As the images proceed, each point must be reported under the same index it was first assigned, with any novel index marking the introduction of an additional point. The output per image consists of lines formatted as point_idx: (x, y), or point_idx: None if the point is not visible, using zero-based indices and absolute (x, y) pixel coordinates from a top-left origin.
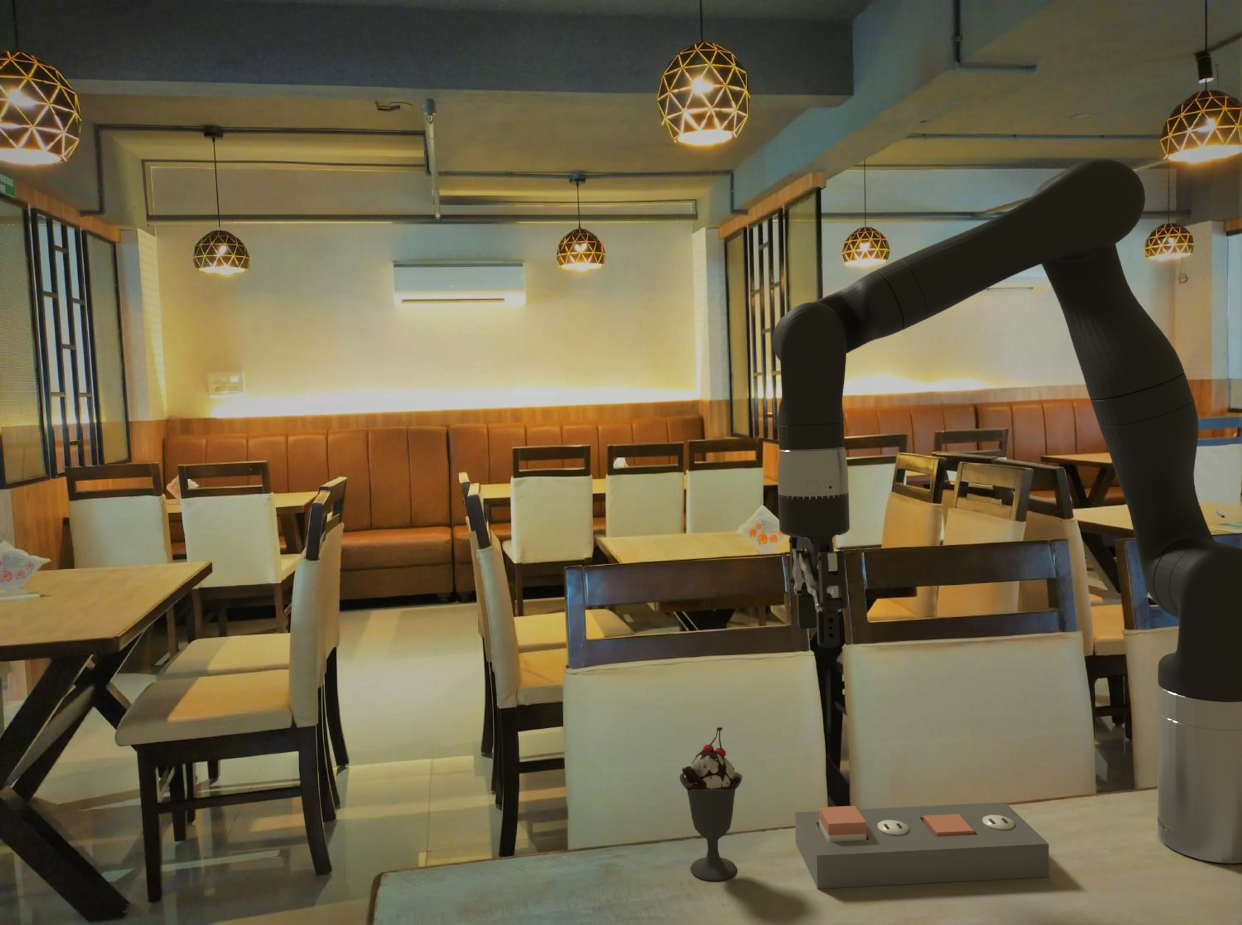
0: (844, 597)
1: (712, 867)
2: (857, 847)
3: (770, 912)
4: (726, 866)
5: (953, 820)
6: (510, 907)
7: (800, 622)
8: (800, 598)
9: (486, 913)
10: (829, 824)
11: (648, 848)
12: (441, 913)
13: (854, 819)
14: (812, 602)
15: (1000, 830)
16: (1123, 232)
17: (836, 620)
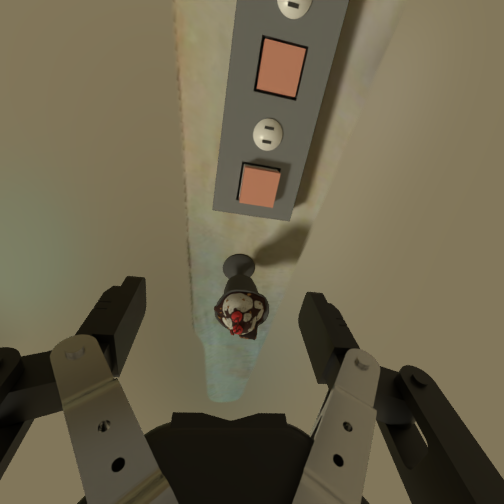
0: (445, 403)
1: (245, 272)
2: (289, 185)
3: (299, 249)
4: (243, 262)
5: (277, 57)
6: (248, 361)
7: (142, 318)
8: (119, 367)
9: (251, 369)
10: (272, 206)
11: (199, 297)
12: (245, 383)
13: (272, 181)
14: (122, 330)
15: (310, 8)
16: None
17: (355, 342)
